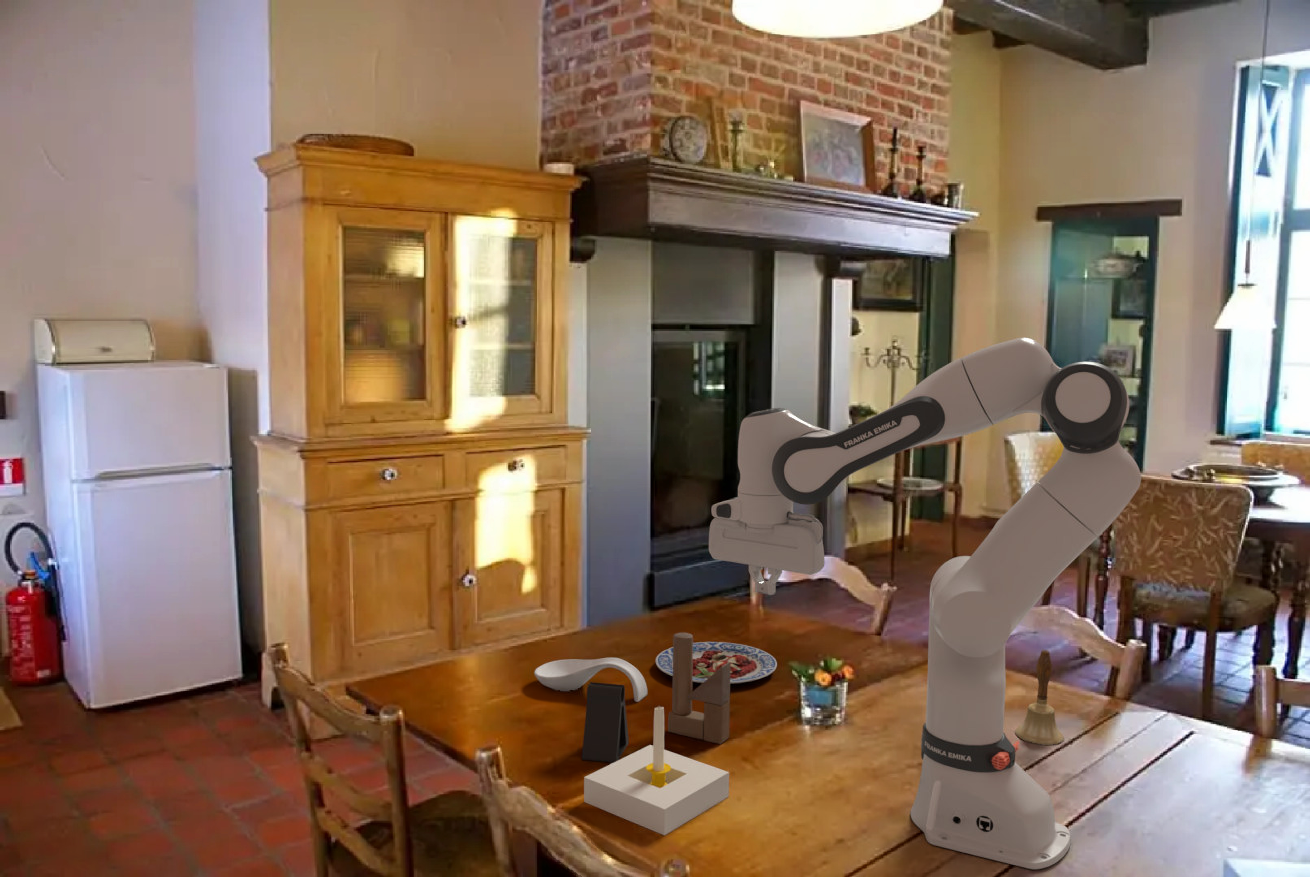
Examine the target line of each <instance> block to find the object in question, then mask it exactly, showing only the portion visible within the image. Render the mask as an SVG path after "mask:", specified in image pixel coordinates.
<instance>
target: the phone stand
mask: <svg viewBox="0 0 1310 877" xmlns="http://www.w3.org/2000/svg"><path fill="white" fill-rule="evenodd" d="M586 689H587V690H586V710H585V720H584V731H583V739H582V741H583V743H582V751H581V761H590V762H597V763H598V762H599V763H608V764H609V763H610V764H612V763H614V762H616V761H618V760H620V758H621V756H622V754H623V753H624V752H625V750H626V748H627V746H628V745H629V742H630V740H629V732H628V718H627V709H626V699H625V698H626V696H625V695H626V689H625V685H624V684H615V683H614V684H613V683H603V682H592V681H590V682H589V683H588V685H587V688H586Z"/></svg>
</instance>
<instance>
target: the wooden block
mask: <svg viewBox="0 0 1310 877" xmlns="http://www.w3.org/2000/svg"><path fill="white" fill-rule="evenodd" d="M693 643H694V637H693V634H691V633H689V632H677V633H674V634H673V637H672V645H673V646H672V647H673V676H672V704H671V705H672V707H671V708H672V710H671V711H670V712H669V713H668V716H667V728H668V729H667V732H668V733H672V734H677V735H680V736H685V737H689V738H694V739H698V740H703V741H705V742H711V743H714V744H718V745H722V744H723V743H725V742H726V741H727V740H728V739H729V737H730V714H731V712H730V710H731V709H730V706H731V703H730V702H731V701H730V699H731V698H730V697H731V684H730V667H731V662H728V663H727V664H725V665H724V666H722V667H721V668H720V669H719V670H717V671H716V672H715V673H714V674H713V675H712V676H710V677H709V678H708V679H707V680H706V681H705V682H703V683H700V685H698V686H697V687H696V688H695V689H694V690H693V681H692V671H693ZM693 700H694V701H697V702H698V701H699V702H702V703H703V704H704V705H703V706H704V707H703V712H700V711H695V710H693Z"/></svg>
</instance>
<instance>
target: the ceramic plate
mask: <svg viewBox="0 0 1310 877" xmlns="http://www.w3.org/2000/svg"><path fill="white" fill-rule="evenodd" d="M728 662H731V667H730V685H731V684H742V683H746V682H747V683H748V682H753V681H756V680H760V679H763V678H765V677H768V676H769V675H772V673H774V672H775V670H776V669H777V666H778V663H777V662H778V661H777V660H776V658H775V657H774V656H773V655H771V654H770V653H768V652H766V651H764V650H762V649H760V648H756V647H754V646H750V645H746V644H741V643H740V644H739V643H734V642H733V643H732V642H726V641H725V642H724V641H719V642H718V641H703V642H702V641H700V642H698V641H697V642H693V671H692V683H700V684H702V683H703V682H705V681H706V680H707V679H708V678H709V677H710V676H712V675H713V674H714V673H715V672H716V671H717V670H719V669H720V668H721V667H722V666H724V665H725V664H727V663H728ZM655 665H656V666H657V668H658V669H659V670H660V671H661V672H663V673H665V674H666V675H669V676H671V677H673V646H672V647H670V648H668V649H665V650H663V651H661V652H660V653H659V654H657V656H656V657H655Z"/></svg>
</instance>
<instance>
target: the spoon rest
mask: <svg viewBox="0 0 1310 877" xmlns="http://www.w3.org/2000/svg"><path fill="white" fill-rule="evenodd" d="M606 668H607V669H608V668H613V669H616V670H618V671H620V672H622V673H624V675H626V677H627V678H628V679H629V680H630V683H631V686H632V690H633V691H632V692H633V700H634V702H636V703H638V702H640V701H641V700H643V699H644V698H645V697H646V696H648V687H647V683H646V680H645V677H644V676H643V674H642V673H641V672H640V671H639V669H638V668H637V667H635V666H634V665H632V664H631V663H629V662H628V661H626V660H624V659H622V658H619V657H604V658H603V657H602V658H597V659H596V658H595V659H576V658H575V659H570V658H569V659H558V660H553V661H550V662H546V663H544V664H542V665H540V666H538V667H536V668H535V670H534V672H533V673H534V676H535V678H536V679H537V680H538V681H539V682H540V683H541V685H543V686H545V687H548V688H550V689H552V690H554V691H558V690H560V691H559V692H571V691H570V690H573V691H576V690H578V688H579V689H580V688H581V687H582V686H583V685H585V684H586V683H587V682H588V681H589V680H591V679H592V678H593V677H594V676H595V675H596V674H597V673H598V672H600V671H602V670H604V669H606Z"/></svg>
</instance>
